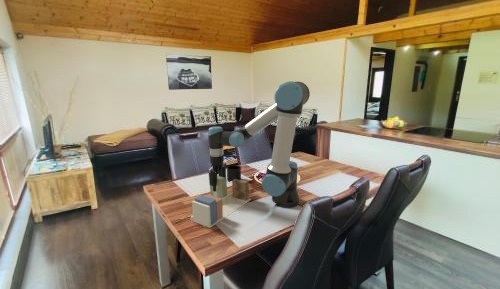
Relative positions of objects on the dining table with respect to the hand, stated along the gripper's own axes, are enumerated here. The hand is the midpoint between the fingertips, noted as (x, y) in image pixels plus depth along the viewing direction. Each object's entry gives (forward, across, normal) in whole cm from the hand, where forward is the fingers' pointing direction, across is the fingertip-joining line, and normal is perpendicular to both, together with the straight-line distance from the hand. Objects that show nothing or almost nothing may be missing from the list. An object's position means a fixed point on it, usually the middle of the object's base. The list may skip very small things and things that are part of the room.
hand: (218, 194), depth 144 cm
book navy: (+1, +23, +12) cm, 26 cm away
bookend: (+1, -5, +12) cm, 13 cm away
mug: (+3, -27, -8) cm, 28 cm away
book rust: (+1, +18, +12) cm, 22 cm away
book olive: (+2, 0, 0) cm, 2 cm away
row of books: (+3, +10, +12) cm, 16 cm away
